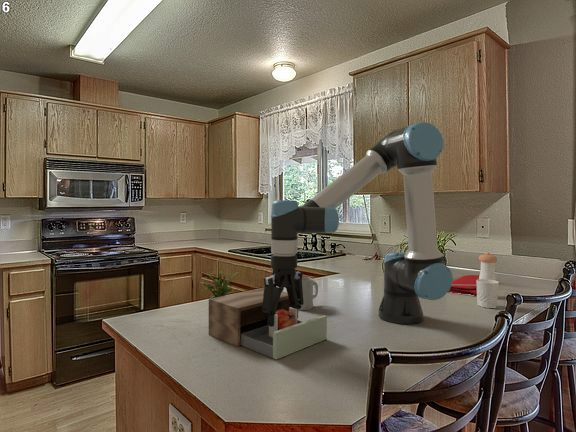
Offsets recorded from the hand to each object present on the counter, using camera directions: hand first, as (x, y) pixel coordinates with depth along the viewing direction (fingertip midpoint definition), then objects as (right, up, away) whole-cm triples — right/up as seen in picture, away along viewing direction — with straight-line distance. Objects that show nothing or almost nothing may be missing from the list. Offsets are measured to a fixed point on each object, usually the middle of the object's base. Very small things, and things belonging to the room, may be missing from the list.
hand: (283, 333), depth 110 cm
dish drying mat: (+90, -1, +77) cm, 118 cm away
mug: (+8, -1, +38) cm, 39 cm away
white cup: (+79, -2, +40) cm, 89 cm away
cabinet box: (-10, -2, +9) cm, 14 cm away
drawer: (0, -2, 0) cm, 2 cm away
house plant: (-22, -2, +27) cm, 35 cm away
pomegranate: (0, 0, 0) cm, 0 cm away
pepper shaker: (+88, -1, +56) cm, 104 cm away
